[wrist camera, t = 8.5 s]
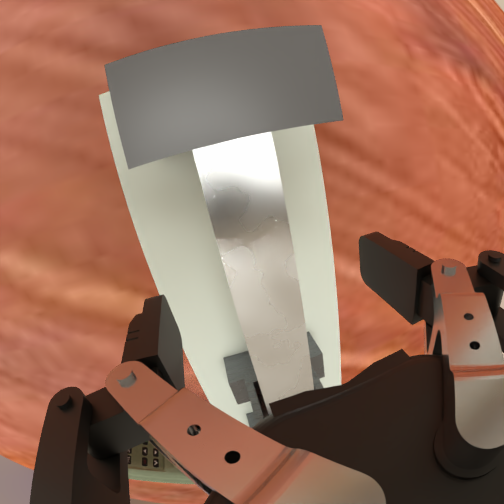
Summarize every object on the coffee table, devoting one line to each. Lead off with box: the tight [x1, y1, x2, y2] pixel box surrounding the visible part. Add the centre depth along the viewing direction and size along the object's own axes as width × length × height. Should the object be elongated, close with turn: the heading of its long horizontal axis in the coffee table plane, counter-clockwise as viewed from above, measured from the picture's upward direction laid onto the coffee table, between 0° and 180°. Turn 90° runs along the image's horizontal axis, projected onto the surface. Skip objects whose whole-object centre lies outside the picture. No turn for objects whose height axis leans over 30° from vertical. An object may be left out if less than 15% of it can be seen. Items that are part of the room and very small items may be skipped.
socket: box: [105, 25, 343, 169], centre depth 14 cm, size 8×4×10 cm, turn 103°
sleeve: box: [223, 331, 325, 428], centre depth 24 cm, size 8×12×9 cm, turn 13°
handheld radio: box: [128, 441, 195, 484], centre depth 29 cm, size 7×3×25 cm
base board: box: [99, 91, 341, 427], centre depth 25 cm, size 14×36×2 cm, turn 13°
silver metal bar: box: [192, 132, 314, 415], centre depth 17 cm, size 3×24×3 cm, turn 13°
